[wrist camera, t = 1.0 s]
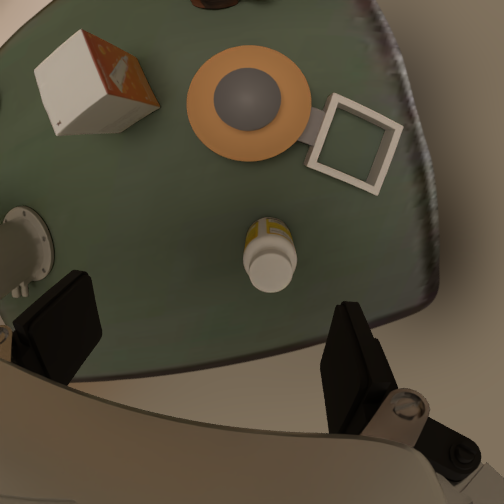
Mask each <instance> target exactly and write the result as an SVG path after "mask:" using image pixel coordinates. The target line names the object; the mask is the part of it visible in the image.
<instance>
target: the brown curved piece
mask: <svg viewBox="0 0 504 504" xmlns="http://www.w3.org/2000/svg"><path fill="white" fill-rule="evenodd" d="M190 1H191V2H192V4H193V5H194V6H196V7H199V8H207V9H218V8H226V7H229V6H233V5H236V4H238V0H190Z"/></svg>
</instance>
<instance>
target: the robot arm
mask: <svg viewBox="0 0 504 504" xmlns="http://www.w3.org/2000/svg"><path fill="white" fill-rule="evenodd" d="M53 261H54V249H53V243H52V239H51V236H50V233H49V230H48V228H47V226H46V224H45V223H44V221H43V220H42V218H41V217H40V216H39V215H38V214H37V213H36V212H35V211H34V210H32V209H31V208H29V207H26V206H18V207H15V208H13V209H11V210H10V211H9V212H8V213H7V214H6V216H5V218H4V221H3V224H1V225H0V300H1V299H2V298H3V297H5V296H6V295H7V294H8V293H10V292H12V296H13V297H14V298H19V297H20V296H21V290H22V296H24V297H27V296H28V295H29V291H28V284H29V283H30V282H31V281H39V280H41V279H43V278H44V277H46V276H47V275H48V274H49V272H50V271H51V269H52V266H53ZM20 286H21V287H22V288H20ZM13 325H14V327H15V331H14V332H12V329H11V328H10V327H9V326H7V325H0V504H504V478H503V477H502V476H501V475H500V474H499V473H498V472H496V470H494V469H493V468H492V467H491V466H490V465H489V464H488V463H487V462H486V463H485V464H484V465H483V464H482V463H481V452H480V450H479V447H478V446H477V445H476V443H475V442H474V441H472V440H471V439H469V438H467V437H465V436H463V435H461V434H459V433H458V432H456V431H454V430H452V429H450V428H448V427H446V426H444V425H443V424H441V423H439V422H437V421H435V420H433V419H431V418H430V417H428V416H429V412H430V407H429V404H428V402H427V400H426V398H424V396H423V395H422V394H420V393H419V392H417V391H415V390H412V389H408V388H400V389H398V386H397V384H396V381H395V379H394V376H393V374H392V371H391V369H390V366H389V364H388V361H387V359H386V356H385V354H384V352H383V349H382V347H381V345H380V342H379V341H378V339H376V338H374V337H373V335H372V333H371V330H370V328H369V325H368V323H367V321H366V318H365V316H364V314H363V311H362V309H361V307H360V305H359V303H358V302H348V301H343V302H342V303H341V305H336V307H335V311H334V315H333V319H332V323H331V327H330V330H329V334H328V338H327V341H326V345H325V349H324V352H323V355H322V359H321V363H320V372H321V378H322V385H323V392H324V399H325V406H326V413H327V421H328V428H329V434H328V433H326V434H325V433H301V432H283V431H270V430H258V429H248V428H239V427H230V426H223V425H216V424H210V423H203V422H198V421H192V420H187V419H181V418H176V417H172V416H167V415H162V414H158V413H154V412H149V411H145V410H141V409H138V408H134V407H130V406H126V405H123V404H119V403H116V402H113V401H109V400H106V399H103V398H100V397H97V396H94V395H91V394H88V393H85V392H82V391H79V390H76V389H73V388H71V387H68V386H67V385H68V384H69V383H70V381H71V380H72V378H73V377H74V375H75V374H76V373H77V371H78V370H79V368H80V367H81V365H82V364H83V363H84V361H85V360H86V358H87V357H88V356H89V354H90V353H91V352H92V350H93V349H94V347H95V346H96V345H97V343H98V342H99V341H100V339H101V337H102V328H101V324H100V320H99V315H98V311H97V306H96V301H95V296H94V291H93V285H92V280H91V277H90V276H88V273H87V272H85V271H79V270H73V271H71V272H70V273H69V274H67V275H66V276H65V277H64V278H63V279H61V280H60V281H59V282H58V283H56V284H55V285H54V286H53V287H52V288H50V289H49V290H48V291H47V292H46V293H45V294H43V295H42V296H41V297H40V298H39V299H38V300H36V301H35V302H34V303H33V304H32V305H31V306H30V307H28V308H27V309H26V310H25V311H24V312H23V313H22V314H21V315H20V316H19V317H17V318H16V319H15V320H14V321H13Z"/></svg>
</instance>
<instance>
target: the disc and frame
mask: <svg viewBox="0 0 504 504" xmlns="http://www.w3.org/2000/svg"><path fill="white" fill-rule="evenodd" d="M337 107H338V108H340V109H342V110H345V111H347V112H349V113H351V114H354V115H356V116H358V117H360V118H362V119H364V120H366V121H368V122H370V123H373V124H375V125H377V126H379V127H381V128H383V129H384V130H385V132H384V135H383V137H382V140H381V143H380V146H379V148H378V151H377V154H376V157H375V159H374V162H373V165H372V167H371V170H370V172H369V175H368V177H367V180H366V182H363V181H361V180H359V179H357V178H354V177H352V176H350V175H347V174H345V173H343V172H340V171H338V170H336V169H333V168H331V167H328V166H326V165H323V164H321V163H318V162H317V159H318V157H319V154H320V151H321V149H322V146H323V143H324V141H325V138H326V135H327V132H328V130H329V127H330V124H331V121H332V119H333V116H334V113H335V110H336V108H337ZM187 113H188V118H189V121H190V124H191V126H192V128H193V130H194V132H195V134H196V135H197V137H198V138H199V139H200V140H201V141H202V143H204V144H205V145H206V146H207V147H208V148H209V149H211V150H212V151H214V152H215V153H217V154H219V155H221V156H223V157H226V158H229V159H233V160H237V161H260V160H264V159H268V158H271V157H274V156H276V155H278V154H280V153H282V152H284V151H285V150H286V149H288V148H289V147H290V146H291V145H293V144H294V143H295V142H296V141H299V142H302V143H305V144H307V145H310V147H309V150H308V152H307V155H306V158H305V160H304V163H303V164H304V165H305V166H307V167H310V168H312V169H315V170H317V171H320V172H322V173H325V174H327V175H330V176H332V177H335V178H337V179H340V180H342V181H344V182H347V183H349V184H352V185H354V186H356V187H359V188H361V189H363V190H365V191H368V192H370V193H372V194H374V195H377V196H378V193H379V191H380V188H381V186H382V183H383V181H384V178H385V176H386V173H387V171H388V168H389V165H390V163H391V160H392V157H393V155H394V152H395V149H396V146H397V143H398V141H399V138H400V135H401V132H402V129H403V126H401V125H400V124H398V123H396V122H394V121H392V120H390V119H388V118H387V117H385V116H383V115H381V114H379V113H377V112H375V111H373V110H371V109H369V108H367V107H365V106H362V105H360V104H358V103H356V102H354V101H352V100H349V99H347V98H345V97H343V96H340V95H338V94H336V93H332V94H331V95H329V96H328V97H327V100H326V103H325V106H324V108H323V111H322V110H319V109H317V108H314V107H311V94H310V89H309V86H308V83H307V81H306V79H305V77H304V75H303V73H302V72H301V70H300V69H299V68H298V67H297V66H296V64H295V63H293V62H292V61H291V60H290V59H289V58H287V57H286V56H284V55H283V54H281V53H279V52H277V51H275V50H272V49H269V48H266V47H261V46H253V45H249V46H238V47H233V48H230V49H227V50H224V51H222V52H220V53H218V54H216V55H214V56H213V57H212V58H210V59H209V60H208V61H206V62H205V63H204V64H203V65H202V66H201V68H200V69H199V70H198V71H197V73H196V74H195V76H194V78H193V80H192V82H191V84H190V87H189V90H188V95H187Z"/></svg>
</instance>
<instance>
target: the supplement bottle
mask: <svg viewBox="0 0 504 504" xmlns="http://www.w3.org/2000/svg"><path fill="white" fill-rule="evenodd" d="M243 264H244V268H245V270H246V272H247V274H248V275H249V278H250V280H251V282H252V284H253V285H254V286H255V287H256V288H257V289H259V290H261V291H263V292H269V293H273V292H278V291H280V290H282V289H284V288H285V287H286V286H287V285H288V284H289V283H290V281H291V279H292V275H293V272H294V270H295V268H296V264H297V255H296V250H295V247H294V243H293V240H292V236H291V233H290V231H289V229H288V227H287V226H286V224H285V223H283V222H282V221H281V220H279V219H276V218H272V217H265V218H261V219H259V220H257V221H255V222H254V223H253V224H252V225H251V226H250V228H249V229H248V232H247V235H246V242H245V248H244V255H243Z"/></svg>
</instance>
